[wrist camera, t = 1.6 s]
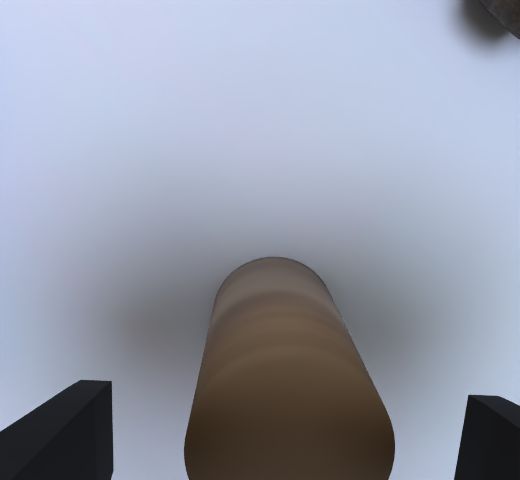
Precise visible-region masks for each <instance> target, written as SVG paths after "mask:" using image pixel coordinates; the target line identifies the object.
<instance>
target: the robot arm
mask: <svg viewBox="0 0 520 480" xmlns="http://www.w3.org/2000/svg"><path fill="white" fill-rule="evenodd" d="M112 474H113V424H112V381H97V380H80V381H78V382H76V383H74V384H73V385H71V386H69V387H68V388H66V389H65V390H63V391H62V392H60V393H59V394H57V395H55V396H54V397H52V398H51V399H49V400H48V401H46V402H45V403H43V404H42V405H40V406H39V407H37V408H36V409H34V410H33V411H31V412H30V413H28V414H27V415H25V416H24V417H22V418H21V419H19V420H17V421H16V422H14V423H13V424H11V425H10V426H8V427H7V428H5V429H4V430H2V431H1V432H0V480H111V477H112ZM454 480H520V406H519V405H517V404H515V403H513V402H511V401H509V400H506V399H504V398H502V397H499V396H486V395H468V401H467V407H466V413H465V419H464V425H463V430H462V436H461V442H460V448H459V454H458V460H457V466H456V471H455V477H454Z"/></svg>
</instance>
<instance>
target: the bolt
mask: <svg viewBox="0 0 520 480" xmlns="http://www.w3.org/2000/svg"><path fill="white" fill-rule="evenodd" d="M480 1H481V2H482V4H483V5H484V6H485V7H486V9H487V10H488V11H489V12H490V13H491V14H492V15H493V16H494V17H495V18H496V19H497V20H498V21H500V22H501V23H502V24H503V25H504V26H505V27H506V28H507V29H508V30H509V31H510V32H511V33H512V34H513V35H514V36H515V37H516V38H518V39H520V0H480Z"/></svg>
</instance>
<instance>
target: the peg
mask: <svg viewBox="0 0 520 480" xmlns="http://www.w3.org/2000/svg"><path fill="white" fill-rule="evenodd" d="M394 455H395V440H394V432H393V428H392V424H391V420H390V418H389V416H388V413H387V411H386V409H385V407H384V405H383V402H382V400H381V398H380V396H379V394H378V392H377V390H376V388H375V386H374V384H373V382H372V380H371V378H370V376H369V374H368V372H367V370H366V367H365V365H364V363H363V361H362V359H361V357H360V355H359V353H358V351H357V349H356V347H355V345H354V343H353V341H352V339H351V337H350V335H349V332H348V330H347V328H346V326H345V324H344V322H343V320H342V318H341V316H340V314H339V312H338V310H337V308H336V306H335V304H334V302H333V300H332V297H331V295H330V293H329V291H328V289H327V287H326V286H325V284H324V282H323V281H322V280H321V279H320V277H319V276H318V275H317V274H316V273H315V272H314V271H313V270H311V269H310V268H308V267H307V266H305V265H303V264H302V263H300V262H297V261H294V260H291V259H287V258H281V257H266V258H260V259H256V260H253V261H251V262H248V263H246V264H244V265H242V266H241V267H239V268H238V269H236V270H235V271H234V272H232V273H231V274H230V275H229V276H228V277H227V279H226V280H225V281H224V283H223V284H222V286H221V287H220V289H219V291H218V293H217V296H216V299H215V303H214V307H213V312H212V317H211V321H210V326H209V331H208V335H207V340H206V344H205V349H204V354H203V358H202V363H201V367H200V372H199V377H198V381H197V386H196V391H195V395H194V400H193V404H192V409H191V414H190V418H189V423H188V428H187V432H186V437H185V446H184V459H185V466H186V471H187V475H188V478H189V480H388V479H389V476H390V473H391V470H392V466H393V462H394Z"/></svg>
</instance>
